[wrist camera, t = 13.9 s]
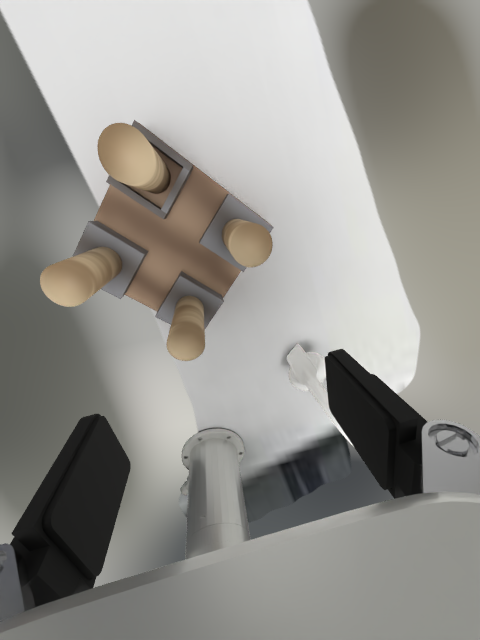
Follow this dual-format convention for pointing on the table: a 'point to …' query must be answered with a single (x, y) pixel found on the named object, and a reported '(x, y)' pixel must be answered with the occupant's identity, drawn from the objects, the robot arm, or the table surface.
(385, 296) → the table surface
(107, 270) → the stool
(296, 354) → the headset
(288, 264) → the table surface
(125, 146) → the oak leg
